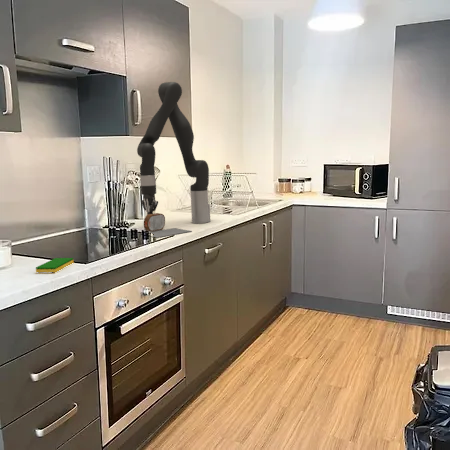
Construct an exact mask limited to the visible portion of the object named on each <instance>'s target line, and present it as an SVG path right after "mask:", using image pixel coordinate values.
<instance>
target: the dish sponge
mask: <svg viewBox="0 0 450 450" xmlns="http://www.w3.org/2000/svg"><path fill="white" fill-rule="evenodd" d="M72 263H73V264H75V262H74V258H73V257H55V258H53V259H50V260H48V261H47V262H44V263H42V264H40V265H38V266H36V267H35V273H36V272H57V271H59V270H61V269H62V268H64V267H66V266H68V265H70V264H72ZM73 264H72V265H73ZM70 266H71V265H70ZM68 267H69V266H68ZM66 268H67V267H66ZM64 269H65V268H64ZM62 270H63V269H62ZM62 270H61V271H62ZM59 272H60V271H59ZM57 273H58V272H57Z"/></svg>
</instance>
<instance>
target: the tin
mask: <svg viewBox="0 0 450 450" xmlns="http://www.w3.org/2000/svg"><path fill="white" fill-rule="evenodd" d="M165 225H166V216H165V215H164V214H163V213H159V212H155V213H154V212H153V214H148V215H147V214H146V216H145V217H144V220H143V229H144V231H146V232H154V231H160V230H164V228H165Z"/></svg>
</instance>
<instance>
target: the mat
mask: <svg viewBox="0 0 450 450" xmlns="http://www.w3.org/2000/svg"><path fill="white" fill-rule="evenodd" d="M149 232H150V233H152V234H154V235H153V237H152V238H154V237H156V238H155V239H160V238H165V237H171V236H175V235H176V236H177V235H181V234H188V233H192V230H189V229H182V228H179V227H178V228H177V227H172V228H166V229H161V230H157V231H152V232H151V231H149ZM159 237H160V238H159Z"/></svg>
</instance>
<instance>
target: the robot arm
mask: <svg viewBox="0 0 450 450" xmlns="http://www.w3.org/2000/svg"><path fill="white" fill-rule="evenodd" d="M181 86H182V85H180V84H179V83H178V82H176V81H170V82H167V81H166V82H162V83H160V84H159V86H158V91H157V93H158V97H159V99H160V101H161V103H162V104H161V106H160V107H159V108H158V110H157V111H156V113H155V114H154V115H153V117H152V118H151V119H150V122H149V123H148V126H147V128H146V131H145V134H144V135H143V137H142V138H141V140H140V142H139V144H138V146H137V149H136V151H137V155H138V156H139V157H140V158H141V163H140V166H139V174H140V177H139V178H140V179H139V184H140V194H141V196H142V199H141V200H140V203H141V206H142V208H143V210H144V211H146V212H147V214H146V216H147V215H148V214H154V212H155V211H156V209H157V207H158V205H159V201H158V200H156V197H155V195H156V194H157V181H156V180H157V179H156V173H155V172H156V171H155V163H156V162H155V161H156V148H155V146H154V145H155V144H156V143H157V142H158V141H159V139H160V138H161V136H162V135H161V134H162V133H163V130H164V127H165V125H166V124H167V121H168V120H169V122H170V124H171V128H172V131H173V133H174V135H175V139H176V142H177V144H178V147H179V151H180V152H181V155H182V156H181V157H182V160H183V164H184V168H185V171H186V174H187V176H189V177H190V178H193V179H194V178H195V181H194V183H193V184H191V185H190V186H189V189H190V207H191V208H190V210H191V223H192V224H206V223H209V222H211V206H210V205H211V204H210V203H209V192H208V186H209V181H210V178H209V177H210V169H209V164H208V163H207V161H206V160H205V159H204V160H203V159H201V160H200V159H196V158H195V156H194V151H193V145H194V139H195V135H194V131H193V128H192V125H191V123H190V121H189V119H188V118H187V117H186V116H185V114H184V113H183V112H182V111H181V109H180V107H179V105H178V103H179V101H180V99H181V97H182V94H183V89H182V87H181Z"/></svg>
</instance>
